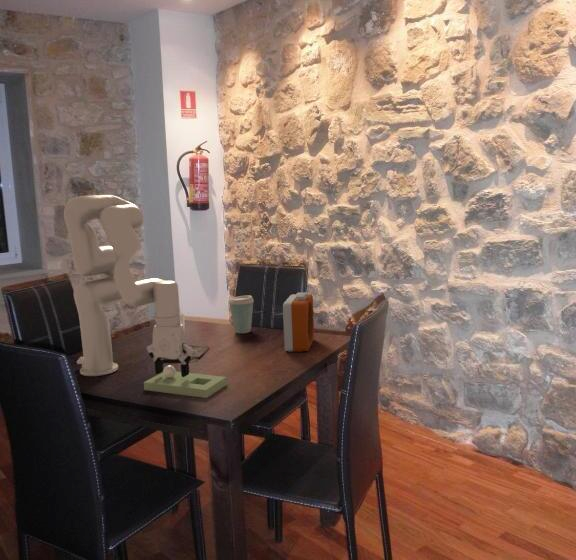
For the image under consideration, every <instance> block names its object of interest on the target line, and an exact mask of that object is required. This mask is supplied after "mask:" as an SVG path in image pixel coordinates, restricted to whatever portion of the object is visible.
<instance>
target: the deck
mask: <svg viewBox="0 0 576 560" xmlns="http://www.w3.org/2000/svg"><path fill="white" fill-rule="evenodd" d="M227 378H228V377H227V376H221V375H212V374H211V375H210V374H203V373H193V372H192V373H191V372H189V375H187V376H185V377H182V376H181V371H177V370H176V374H175V375H174V377H172V378H166V377H165V376H164V375H163V372H161V373H159V374H156V375H155V376H152V377H151V378H149V379H147V380H146V381H144V382H143V390H144V391H150V392H159V393H166V394H172V395H173V394H174V395H178V396H179V395H181V396H189V397H195V398H204V399H207V398H209V397H211V396H212V395H213V394H215V393H216V392H218V391H220V390H221V389H222V388H224V387H226V386H227V385H228V379H227Z"/></svg>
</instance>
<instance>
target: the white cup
mask: <svg viewBox="0 0 576 560" xmlns="http://www.w3.org/2000/svg"><path fill="white" fill-rule="evenodd" d="M180 319H181V324H182V325H183V329H184V331H185V328H186V327H185V326H186V325H185V324H186V323H185V322H186V321H185V320H186V319H185V312H183V311H180Z"/></svg>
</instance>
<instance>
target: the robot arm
mask: <svg viewBox="0 0 576 560" xmlns="http://www.w3.org/2000/svg"><path fill="white" fill-rule="evenodd" d="M63 219H64V222H65V226H66V228H67V231H68V234H69V235H68V236H69V239H70V246H71V252H72V261H73V266H74V270H75V272H76V274H77V275H78V276H80V277H84V278H86V277H94V276H98V275H101V278H96V279H90V280H86V281H83V282H80V283H78V284H77V285H76V287H75V288H74V290H73V299H74V303H75V306H76V309H77V313H78V314H77V315H78V319H79V328H80V336H81V347H82V355H83V356H79V358H78V359H77V361H76V364H77V365H81V368H80V369H79V374H80V375H82V376H84V377H98V376H105V375H109V374H112V373H114V372H116V371H118V369H119V365H118V363H116V362H114V357H113V347H112V345H113V344H112V336H111V325H110V319H109V316H108V314H107V313H106V312H105V310H104V309H103V307H106V306H108V305H109V306H110V305H114V304H116V303H119V302H121V301H122V300H123V302H125V304H127V306H130V307H134V308H137V307H140V306H144V305H148V304H151V303H152V304H153V303H154V305H153V306H154V316H153V318H152V321H155V325H153V330H152V342H151V344H150V345H148V346H146V350H147V352H148V354H149V357H150V358H151V359H152V362H154V371H155V374H156V375H159V374H161V373H162V372H163V369H164V364H163V363H164V362H163V360H162V359H161V358H168V359H179V360H180V361H181V364H180V372H181V376H182V377H185V376H187V375H189V373H190V363H191V362H190V361H191V359H192V358H193V356H194V353H195V350H194V349H192V348H191V347H189V346H188V345H187V338H186V334H185V330H184V329H183V325H182V324H181V319H180V312H181V310H180V308H181V307H180V296H179V295H180V294H179V285H178V283H177V281H174V280H164V279H160V278H156V277H155V278H154V277H153V278H152V277H151V278H147V279H142V280H137V281H135V280H134V278H133V276H132V274H131V271H130V263H131V259H132V258H134V257H135V256H137V255H138V254H139V253H140V252H141V251H142V248H143V246H142V243H141V242H140V240H139V237H138V235H137V233H136V230H139V229H140V228H142V227H143V224H144V215H143V212H142V211H141V209H140V208H139V207H138V206H137V205H136V204H134V203H132V202H130V201H127V200H125V199H123V198H121V197H118V196H116V195H113V194H97V195H96V194H89V195H87V194H86V195H79V196H76V197H73V198H70V199H69V200H68V201H67V203H66V204H65V207H64V210H63ZM90 222H99V223H100V225H101V227H102V229H103V231H104V233H105V235H106V237H107V239H108V241H109V243H110V245H99V242H98V241H99V240H98V235H97V233H96V231H95V229H94V228H93V226H92V225H91V224H90ZM187 352H188V353H189V354H188V356H187V355H186V354H187ZM184 359H185V360H184ZM189 362H190V363H189Z"/></svg>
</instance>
